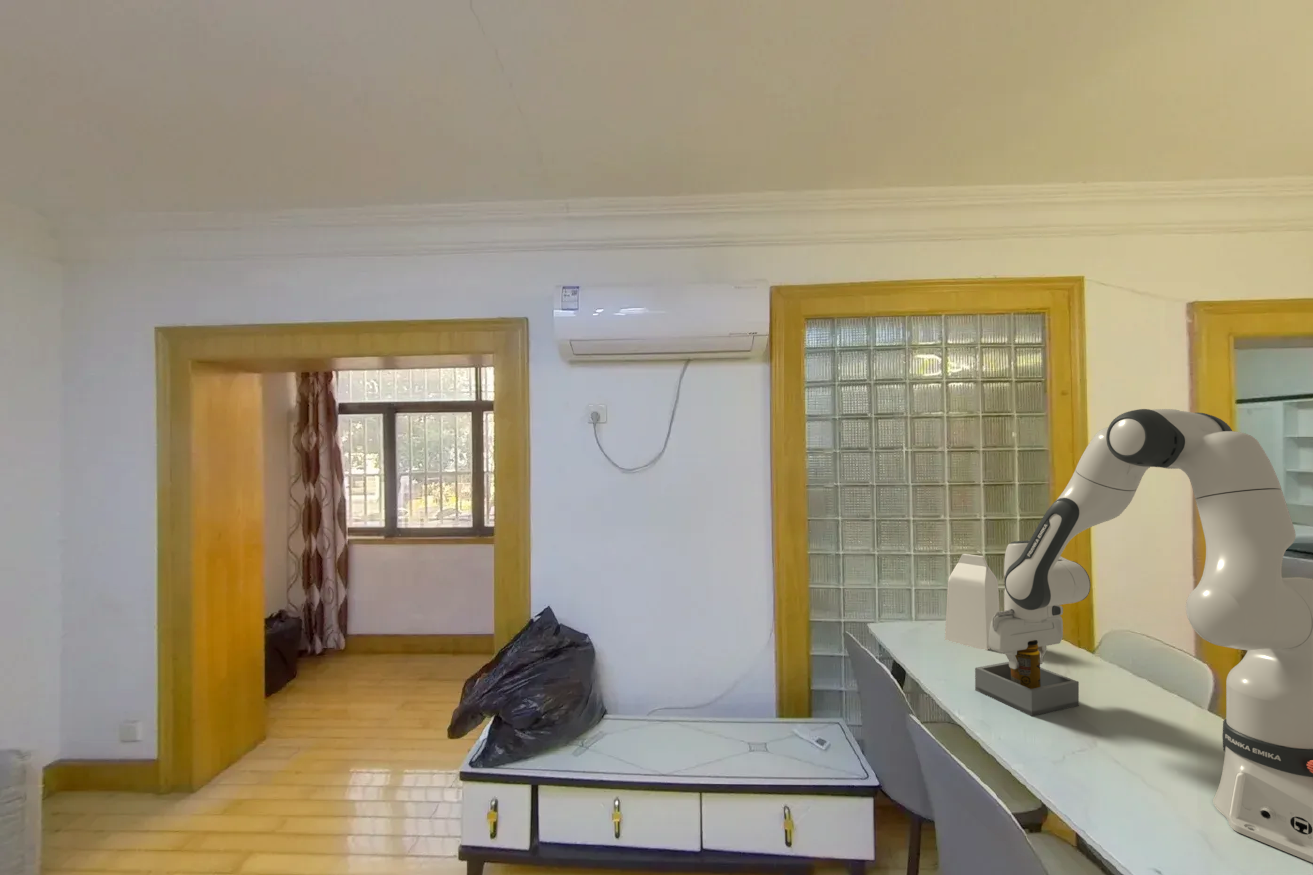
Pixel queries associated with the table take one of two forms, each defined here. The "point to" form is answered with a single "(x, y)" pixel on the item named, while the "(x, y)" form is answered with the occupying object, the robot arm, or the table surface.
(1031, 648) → the condiment
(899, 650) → the table surface
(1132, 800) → the table surface
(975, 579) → the milk
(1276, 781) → the robot arm
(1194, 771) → the table surface
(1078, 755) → the table surface
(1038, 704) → the box
